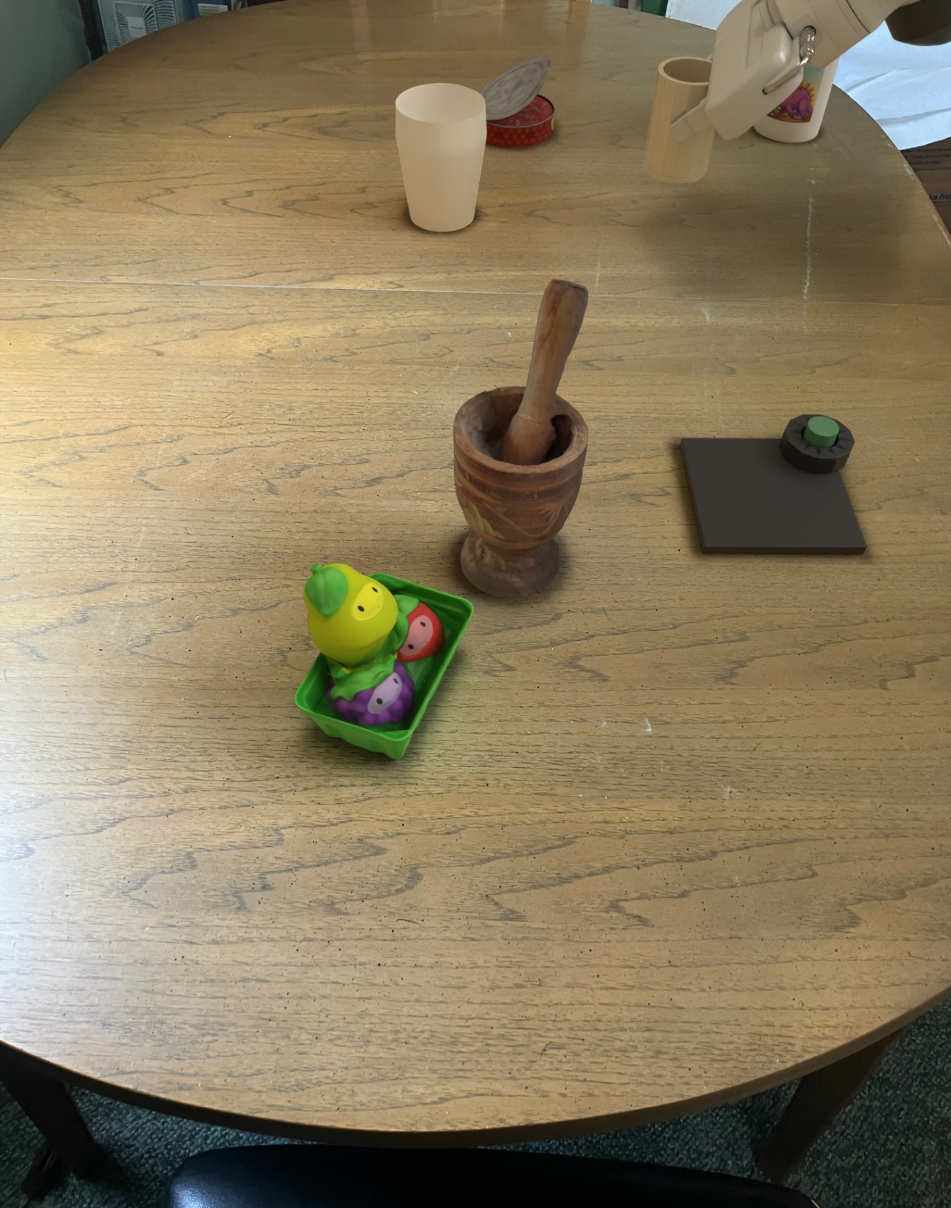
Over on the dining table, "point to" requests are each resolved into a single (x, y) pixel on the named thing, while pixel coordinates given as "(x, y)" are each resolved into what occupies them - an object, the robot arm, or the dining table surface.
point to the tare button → (821, 432)
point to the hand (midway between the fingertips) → (677, 115)
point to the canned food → (519, 105)
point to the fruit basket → (376, 654)
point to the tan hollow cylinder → (674, 94)
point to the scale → (772, 494)
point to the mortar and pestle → (522, 460)
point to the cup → (441, 153)
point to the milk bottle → (801, 107)
